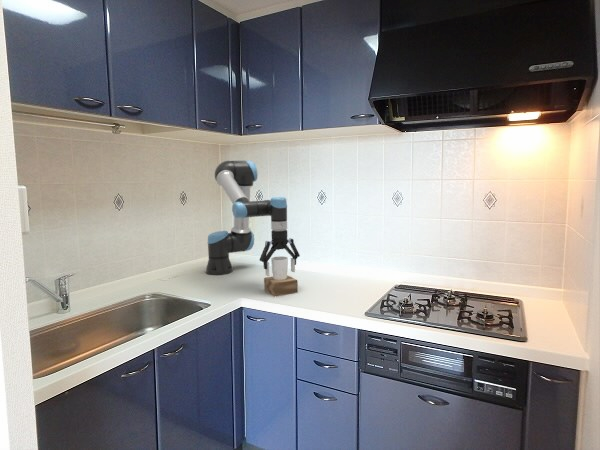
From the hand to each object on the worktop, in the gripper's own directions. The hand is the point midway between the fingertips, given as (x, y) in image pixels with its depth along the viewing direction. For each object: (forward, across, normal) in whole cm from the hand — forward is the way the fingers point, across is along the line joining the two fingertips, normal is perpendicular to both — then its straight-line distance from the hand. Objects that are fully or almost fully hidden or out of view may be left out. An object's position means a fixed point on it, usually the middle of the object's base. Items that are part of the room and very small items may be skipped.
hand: (280, 273), depth 186 cm
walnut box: (+9, 0, 0) cm, 9 cm away
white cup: (+3, 0, 0) cm, 3 cm away
